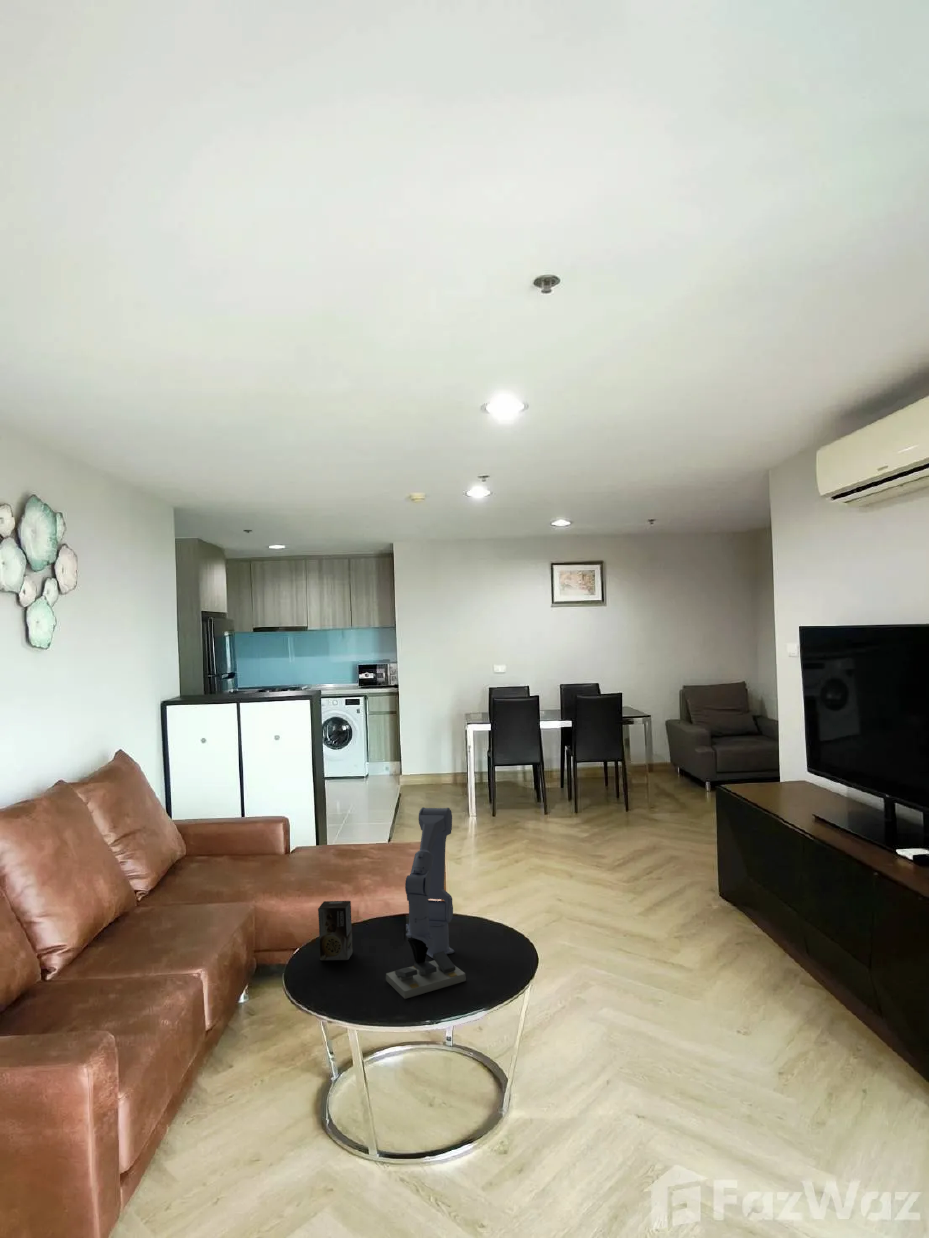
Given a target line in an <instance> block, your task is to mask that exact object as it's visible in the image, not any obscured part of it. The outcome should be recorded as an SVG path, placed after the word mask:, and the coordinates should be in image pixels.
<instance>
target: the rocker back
mask: <svg viewBox="0 0 929 1238" xmlns="http://www.w3.org/2000/svg"><path fill="white" fill-rule="evenodd" d="M432 959H433V961H434V960H435V962H436V963H437V964H438V966H439V967H440V968H441V970H442V971H443V972H444V974H445V973H448V972H452V971H455V966H456V965H455V964H454V963H453V962H452V960H451V959H450V958H449V956H448V954H445V952H444V951H442V952H439V953H435V954H433V958H432ZM454 965H455V966H454Z"/></svg>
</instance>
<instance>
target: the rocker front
mask: <svg viewBox="0 0 929 1238" xmlns="http://www.w3.org/2000/svg"><path fill="white" fill-rule="evenodd" d="M394 971H395V974H396V975H397V976H401V977H405V978H406V977H410V976H414V975H417V970H415V969H411V968H408V967H403V968H400V969H396V970H394Z"/></svg>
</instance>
